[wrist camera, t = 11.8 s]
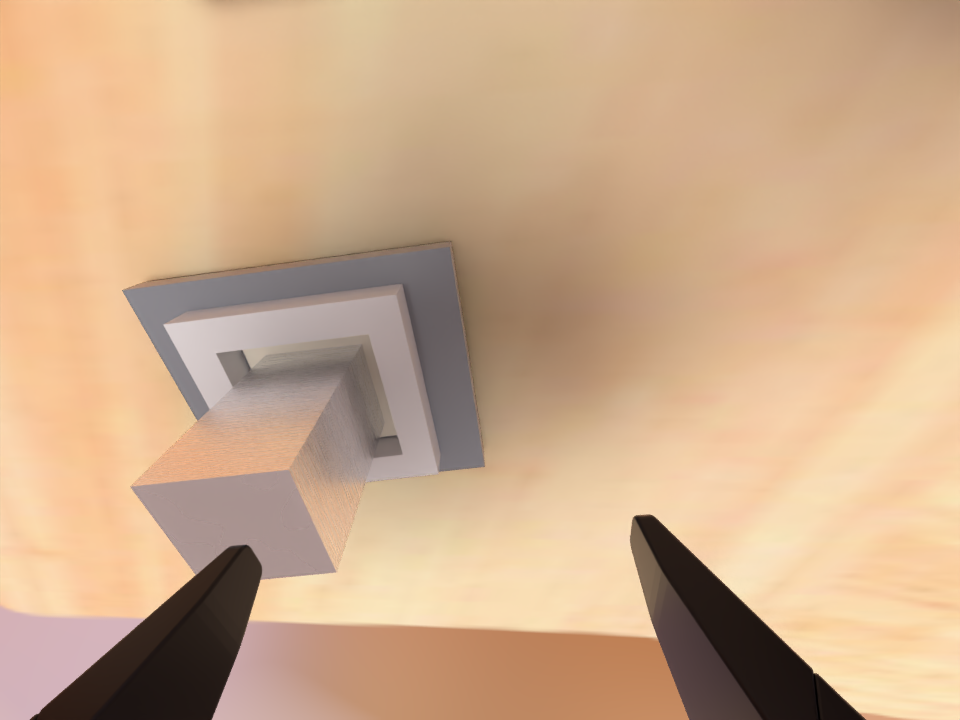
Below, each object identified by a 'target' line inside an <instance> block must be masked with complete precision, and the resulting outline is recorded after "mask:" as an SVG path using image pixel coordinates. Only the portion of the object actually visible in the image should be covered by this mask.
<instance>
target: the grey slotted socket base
mask: <svg viewBox="0 0 960 720" xmlns="http://www.w3.org/2000/svg"><path fill="white" fill-rule="evenodd" d="M122 291H123V293H124V295H125V296H126V298H127V300H128V301H129V303H130V305H131V307H132V308H133V310H134V312H135V314H136V315H137V317H138V319H139V320H140V322H141V324H142V326H143V327H144V329H145V331H146V333H147V334H148V336H149V338H150V339H151V341H152V343H153V345H154V346H155V348H156V350H157V352H158V353H159V355H160V357H161V359H162V360H163V362H164V364H165V365H166V367H167V369H168V371H169V372H170V374H171V376H172V378H173V379H174V381H175V383H176V384H177V386H178V388H179V390H180V391H181V393H182V395H183V397H184V398H185V400H186V402H187V403H188V405H189V407H190V409H191V410H192V412H193V414H194V416H195V417H196V419H197V421H198V420H199V419H200V418H201V417H203V416H204V415H205V414H206V413H207V412H208V411H209V410H210V409H211V408H212V407H213V406H214V405H215V404H216V403H217V402H218V401H219V400H220V399H221V398H222V397H223V396H224V395H225V394H226V393H227V392H228V391H229V390H230V389H231V388H232V387H233V386H234V385H236V384H237V383H238V382H239V381H240V380H241V379H242V378H243V377H244V376H245V375H246V374H247V373H248V372H249V371H250V370H251V369H252V368H253V367H254V366H255V365H256V364H257V363H258V362H259V361H260V360H261V359H262V358H263V357H264V356H265V355H271V354H280V353H288V352H297V351H305V350H314V349H322V348H331V347H339V346H347V345H356V344H362V346H363V350H364V353H365V357H366V360H367V363H368V367H369V370H370V374H371V377H372V381H373V384H374V388H375V391H376V394H377V398H378V401H379V405H380V408H381V412H382V415H383V419H384V422H385V424H384V427H383V430H382V433H381V436H380V439H379V442H378V446H377V449H376V452H375V455H374V458H373V461H372V464H371V467H370V470H369V473H368V477H367V480H366V482H371V481H380V480H389V479H398V478H407V477H417V476H426V475H435V474H439V472H441V471H450V470H459V469H468V468H477V467H485V463H484V449H483V442H482V436H481V430H480V423H479V417H478V410H477V404H476V397H475V391H474V385H473V378H472V372H471V365H470V359H469V353H468V346H467V340H466V333H465V327H464V321H463V314H462V308H461V301H460V295H459V289H458V282H457V276H456V269H455V263H454V256H453V250H452V244H451V241H448V242H441V243H433V244H426V245H418V246H411V247H403V248H396V249H388V250H381V251H373V252H366V253H358V254H351V255H343V256H336V257H328V258H321V259H313V260H306V261H298V262H291V263H283V264H276V265H268V266H261V267H253V268H246V269H238V270H231V271H223V272H216V273H208V274H201V275H193V276H186V277H178V278H171V279H163V280H156V281H148V282H142V283H140V284H137V285H135V286H132V287H129V288H127V289H124V290H122Z"/></svg>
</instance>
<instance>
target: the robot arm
mask: <svg viewBox="0 0 960 720" xmlns="http://www.w3.org/2000/svg"><path fill="white" fill-rule="evenodd" d="M630 544H631V549H632V553H633V557H634V560H635V564H636V567H637V571H638V575H639V578H640V582H641V585H642V589H643V593H644V596H645V600H646V603H647V607H648V611H649V614H650V617H651V621H652V624H653V626H654V629H655V632H656V635H657V637H658V640H659V643H660V645H661V647H662V650H663V653H664V655H665V658H666V660H667V663H668V666H669V668H670V671H671V674H672V676H673V678H674V681H675V684H676V686H677V689H678V692H679V694H680V697H681V699H682V702H683V704H684V707H685V709H686V712H687V715H688V717H689V720H866V719H865V718H864V717H863V716H862V715H860V714H859V713H858V712H857V711H856V710H855V709H854V708H853V707H852V706H851V705H850V704H849V703H848V702H847V701H845V700H844V699H843V698H842V697H841V696H840V695H839V694H838V693H837V692H836V691H835V690H834V689H833V688H832V687H831V686H830V685H829V684H828V683H827V682H826V681H825V680H824V679H823V678H822V677H821V676H819V675H818V674H817V673H813V669H812V668H811V667H810V666H809V665H808V664H807V663H806V662H805V661H804V660H803V659H802V658H801V657H800V656H799V655H797V654H796V653H795V652H794V651H793V650H792V649H791V648H790V647H789V646H788V645H787V644H786V643H785V642H784V641H783V640H782V639H781V638H780V637H779V636H778V635H777V634H776V633H775V632H774V631H773V630H772V629H771V628H769V627H768V626H767V625H766V624H765V623H764V622H763V621H762V620H761V619H760V618H759V617H758V616H757V615H756V614H755V613H754V612H753V611H752V610H751V609H750V608H749V607H748V606H747V605H746V604H745V603H744V602H743V601H741V600H740V599H739V598H738V597H737V596H736V595H735V594H734V593H733V592H732V591H731V590H730V589H729V588H728V587H727V586H726V585H725V584H724V583H723V582H722V581H721V580H720V579H719V578H718V577H717V576H716V575H715V574H713V573H712V572H711V571H710V570H709V569H708V568H707V567H706V566H705V565H704V564H703V563H702V562H701V561H700V560H699V559H698V558H697V557H696V556H695V555H694V554H693V553H692V552H691V551H690V550H689V549H688V548H687V547H686V546H684V545H683V544H682V543H681V542H680V541H679V540H678V539H677V538H676V537H675V536H674V535H673V534H672V533H671V532H670V531H669V530H668V529H667V528H666V527H665V526H664V525H663V524H662V523H661V522H660V521H659V520H658V519H656V518H655V517H654V516H652V515H636V516H634V517H633V520H632V527H631V536H630ZM261 576H262V565H261V563H260V561H259V560H258V558H257V556H256V555H255V553H254V552H253V550H252V548H251V547H250V546H249V545H234V546H230V547H228V548H227V549H225V550H224V551H223V552H222V553H221V554H220V555H218V556H217V557H216V558H215V559H214V560H213V561H212V562H210V563H209V564H208V565H207V566H206V567H205V568H204V569H202V570H201V571H200V572H199V573H198V574H197V575H195V576H194V577H193V578H192V579H191V580H190V581H189V582H187V583H186V584H185V585H184V586H183V587H182V588H181V589H179V590H178V591H177V592H176V593H175V594H174V595H173V596H171V597H170V598H169V599H168V600H167V601H166V602H164V603H163V604H162V605H161V606H160V607H159V608H158V609H156V610H155V611H154V612H153V613H152V614H151V615H150V616H148V617H147V618H146V619H145V620H144V621H143V622H141V623H140V624H139V625H138V626H137V627H136V628H135V629H134V630H132V631H131V632H130V633H129V634H128V635H127V636H125V637H124V638H123V639H122V640H121V641H120V642H119V643H117V644H116V645H115V646H114V647H113V648H112V649H110V650H109V651H108V652H107V653H106V654H105V655H104V656H102V657H101V658H100V659H99V660H98V661H97V662H96V663H94V664H93V665H92V666H91V667H90V668H89V669H87V670H86V671H85V672H84V673H83V674H82V675H81V676H79V677H78V678H77V679H76V680H75V681H74V682H73V683H71V684H70V685H69V686H68V687H67V688H66V689H65V690H63V691H62V692H61V693H60V694H59V695H58V696H57V697H55V698H54V699H53V700H52V701H51V702H50V703H48V704H47V705H46V706H45V707H44V708H43V709H42V710H41V712H40V713H39V714H36V715H34V716H33V717H32V718H31V719H30V720H212V718H213V715H214V713H215V710H216V708H217V705H218V702H219V699H220V697H221V695H222V692H223V690H224V687H225V685H226V682H227V679H228V677H229V675H230V672H231V669H232V667H233V664H234V662H235V659H236V657H237V654H238V651H239V649H240V646H241V642H242V640H243V637H244V634H245V630H246V627H247V624H248V620H249V617H250V613H251V610H252V607H253V603H254V600H255V597H256V593H257V590H258V587H259V583H260V580H261Z"/></svg>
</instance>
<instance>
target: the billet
mask: <svg viewBox="0 0 960 720" xmlns="http://www.w3.org/2000/svg"><path fill="white" fill-rule="evenodd" d="M384 424H385V422H384V419H383V415H382V412H381V408H380V405H379V401H378V398H377V394H376V391H375V388H374V384H373V381H372V377H371V374H370V370H369V367H368V363H367V360H366V357H365V353H364V350H363V346H362V344H356V345H347V346H339V347H331V348H322V349H314V350H305V351H297V352H288V353H280V354H271V355H265V356H264V357H263V358H262V359H261V360H260V361H259V362H258V363H257V364H256V365H255V366H254V367H253V368H252V369H251V370H250V371H249V372H248V373H247V374H246V375H245V376H244V377H243V378H242V379H241V380H240V381H239V382H238V383H237V384H236V385H234V386H233V387H232V388H231V389H230V390H229V391H228V392H227V393H226V394H225V395H224V396H223V397H222V398H221V399H220V400H219V401H218V402H217V403H216V404H215V405H214V406H213V407H212V408H211V409H210V410H209V411H208V412H207V413H206V414H205V415H204V416H203V417H201V418H200V419H199V420H198V421H197V422H196V423H195V424H194V425H193V426H192V427H191V428H190V429H189V430H188V431H187V432H186V433H185V434H184V435H183V436H182V437H181V438H180V439H179V440H178V441H177V442H176V443H175V444H174V445H173V446H172V447H171V448H170V449H169V450H167V451H166V452H165V453H164V454H163V455H162V456H161V457H160V458H159V459H158V460H157V461H156V462H155V463H154V464H153V465H152V466H151V467H150V468H149V469H148V470H147V471H146V472H145V473H144V474H143V475H142V476H141V477H140V478H139V479H138V480H137V481H136V482H135V483H133V484H132V485H131V486H130V487H131V488H132V490H133V491H134V492H135V494H136V495H137V496H138V498H139V499H140V500H141V502H142V503H143V505H144V506H145V507H146V509H147V510H148V511H149V513H150V514H151V515H152V517H153V518H154V519H155V521H156V522H157V523H158V525H159V526H160V527H161V529H162V530H163V531H164V533H165V534H166V535H167V537H168V538H169V539H170V541H171V542H172V543H173V545H174V546H175V547H176V549H177V550H178V552H179V553H180V554H181V556H182V557H183V558H184V560H185V561H186V562H187V564H188V565H189V566H190V568H191V569H192V570H193V572H194V573H195V574H196V575H197V574H198V573H199V572H200V571H201V570H202V569H204V568H205V567H206V566H207V565H208V564H209V563H210V562H212V561H213V560H214V559H215V558H216V557H217V556H218V555H220V554H221V553H222V552H223V551H224V550H225V549H227V548H228V547H230V546H234V545H249V546H250V547H251V548H252V550H253V552H254V553H255V555H256V556H257V558H258V560H259V561H260V563H261V565H262V576H261V580H262V579H273V578H283V577H293V576H304V575H314V574H324V573H335V572H337V570H338V567H339V564H340V560H341V557H342V554H343V551H344V548H345V545H346V542H347V539H348V536H349V532H350V529H351V526H352V523H353V520H354V517H355V514H356V511H357V508H358V505H359V501H360V498H361V495H362V492H363V489H364V486H365V483H366V480H367V477H368V473H369V470H370V467H371V464H372V461H373V458H374V455H375V452H376V449H377V446H378V442H379V439H380V436H381V433H382V430H383V427H384Z"/></svg>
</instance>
